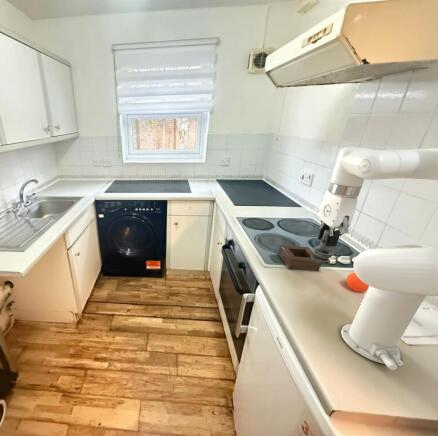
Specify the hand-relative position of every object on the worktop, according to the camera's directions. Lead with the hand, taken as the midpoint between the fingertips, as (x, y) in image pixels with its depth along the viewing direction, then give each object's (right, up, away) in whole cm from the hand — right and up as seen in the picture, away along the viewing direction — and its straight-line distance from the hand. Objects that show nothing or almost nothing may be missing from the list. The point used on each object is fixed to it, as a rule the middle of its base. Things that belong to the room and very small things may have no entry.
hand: (326, 242), depth 79 cm
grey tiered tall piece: (0, -6, +3) cm, 7 cm away
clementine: (+19, -19, +11) cm, 29 cm away
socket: (+8, -12, +28) cm, 31 cm away
